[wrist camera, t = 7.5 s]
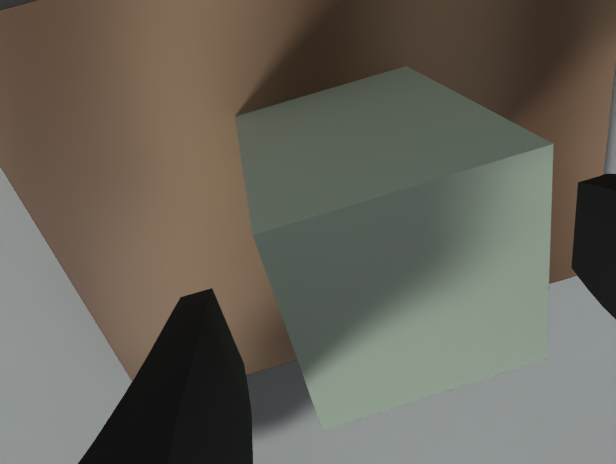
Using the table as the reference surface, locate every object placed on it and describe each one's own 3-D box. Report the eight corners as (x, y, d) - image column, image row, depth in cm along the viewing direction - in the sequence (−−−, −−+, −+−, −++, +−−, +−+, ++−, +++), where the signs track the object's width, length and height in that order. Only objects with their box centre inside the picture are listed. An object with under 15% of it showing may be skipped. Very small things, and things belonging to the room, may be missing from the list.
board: (592, -147, 12) (639, -161, 10) (565, 248, 18) (593, 270, 17) (-49, 24, 11) (-83, 32, 10) (151, 372, 17) (146, 404, 16)
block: (406, 65, 12) (553, 143, 7) (425, 216, 14) (546, 359, 9) (234, 116, 12) (252, 234, 7) (282, 260, 14) (322, 430, 9)
